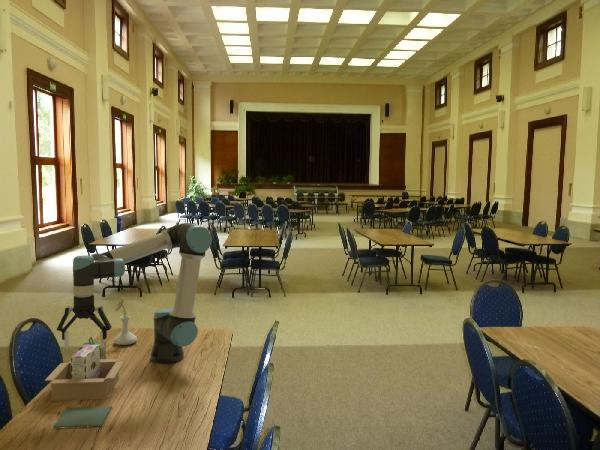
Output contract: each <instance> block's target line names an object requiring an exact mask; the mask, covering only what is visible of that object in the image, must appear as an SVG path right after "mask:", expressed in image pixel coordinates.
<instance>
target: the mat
mask: <svg viewBox="0 0 600 450" xmlns="http://www.w3.org/2000/svg"><path fill="white" fill-rule="evenodd" d="M112 409H113V405H99V406H98V405H93V406H90V405H89V406H69V407H66V408H65V410H64V411H63V412H62V414H61V415H60V417H59V418H58V419H57V420H56V422H55V423H54V425H53V427H52V428H55V429H61V428H60V427H65V428H64V429H71V428H70V427H80V428H91V427H90V426H102V425H104V424H103V423H105V422H106V420H107V418H108V416H109V415H110V412H111V411H112ZM104 421H105V422H104ZM87 426H89V427H87ZM66 427H68V428H66ZM102 427H103V426H102Z"/></svg>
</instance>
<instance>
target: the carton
mask: <svg viewBox="0 0 600 450" xmlns="http://www.w3.org/2000/svg"><path fill="white" fill-rule="evenodd" d="M124 363H125V362H124V361H119V358H106V359H100V373H101V378H96V379H72V373H71V360H70V361H69V362H61V363H59V365H57V367H56V368H55V369H54V370H52V372H51V373H50V374H49V375H48V376H47V377H46V378H45V379H44V381H45V382H50V387H51V401H52V402H53V401H54V402H55V401H77V400H78V401H79V400H80V401H81V400H82V401H83V400H106V399H108V398H109V397H110V395H111V394H112V392H113V391H114V388H115V386H116V385H117V383H118V382H119V380H120V379H119V373H120V372H119V371H121V368H122V366H123V365H124Z"/></svg>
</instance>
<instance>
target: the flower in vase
mask: <svg viewBox="0 0 600 450" xmlns="http://www.w3.org/2000/svg"><path fill="white" fill-rule="evenodd" d="M124 303H125V297H124V296H121V297H120V298H119V299H118V301H117V303H116V305H115V308H114V311H115V312H119V311H120V309H121V308H122V307H123V309H122V311H121V313H122V314H123V315H121V316H119V319H120V320H121V322H122V330H121V332H120V333H119V334H118V335H117V336H115V338H114V339H113V343H114V344H116V345H118V346H127V345H132V344H135V343H136V342H137V341H138V338H137V336H136V335H135V334H133V333H132V332H130V331H129V328H128V323H129V320H130V318H131V316H130V315H128V311H126V308H125V307H124Z"/></svg>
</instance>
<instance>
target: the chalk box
mask: <svg viewBox="0 0 600 450" xmlns="http://www.w3.org/2000/svg"><path fill="white" fill-rule="evenodd" d="M85 345H99V346H100V359H107V350H106V349H107V348H106V347H107V346H106V345H107V344H106V342H105V341H104V347H103V348H101V341H94V339H93V337H92V336H90V337H89V338H88V342H84V343H83V344H82V345H81V346H80V348H78V351H79V350H80V349H82V348H83V347H84V346H85Z"/></svg>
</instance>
